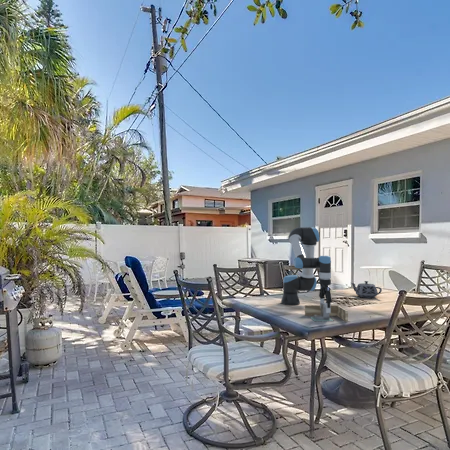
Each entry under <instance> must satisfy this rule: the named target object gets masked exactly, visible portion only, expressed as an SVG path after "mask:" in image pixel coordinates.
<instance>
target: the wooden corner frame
mask: <svg viewBox="0 0 450 450" xmlns="http://www.w3.org/2000/svg"><path fill="white" fill-rule="evenodd" d="M314 315H321V308H320V304H305V305H304V316H310V317H314ZM330 316H331V317H338V318H340V319H342V320H343V321H344V322H346V323H347V322H349V310H347V309H345V308H344V307H342V306H340V305H339V304H337V305H336V304H332V305H331V313H329V317H330Z"/></svg>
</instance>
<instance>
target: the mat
mask: <svg viewBox="0 0 450 450" xmlns="http://www.w3.org/2000/svg"><path fill="white" fill-rule="evenodd" d="M309 318H310V319H311V320H312V321H314V322H334V320H333V319H332V318H331V317H330V320H316V319H314V316H310V317H309Z"/></svg>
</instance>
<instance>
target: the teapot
mask: <svg viewBox="0 0 450 450" xmlns="http://www.w3.org/2000/svg"><path fill="white" fill-rule="evenodd" d="M350 284H351V285H352V288H353V289H352V290H353V291H354V292H355V294H356V295H357V297H359V298H362V297H363V298H364V299H375V298H376V297H377V296H379V295H380V294H382V291H383V290H382V287H379V286H376V284H374V283H369V281H368V280H364V282H363V283H358V284H357V287H356V285H355V283H354V282H350ZM378 290H379V291H378ZM374 297H375V298H374Z"/></svg>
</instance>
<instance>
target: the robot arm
mask: <svg viewBox="0 0 450 450" xmlns="http://www.w3.org/2000/svg"><path fill="white" fill-rule="evenodd" d="M288 241H289V243H290V244H291V247H292V250H293V254H294V257H295V258H294V261H293V265H294V268H296V269H301V273H300V274H299V276H298V275H297V274H288V275H285V276H284V277H283V288H282V289H283V294H282V298H281V301H280V302H281V304H282V305H286V306H298V305H300V303H301V301H300V298H299V295H298V293H299V292H312V291H314V290H316V288H317V283H318V284H319V285H320V286H319V287H320V288H319V294H318V297H319V305H320V308H321V303H326V313H331V303H333V301H332V300H333V299H332V294H331V287H330V286H331V285H332V267H331V266H332V260H331V259H332V258H331V256H330V255H320V256H319V257H315V246H316V245H317V244H318V242H319V241H320V233H319V230H318V228H317V227H312V226H311V227H310V226H309V227H307V226H306V227H305V226H304V227H301V226H299V227H295V228H294V229H292V230H291V231H290V233H289V234H288ZM314 269H318V270H319V271H318V277H319V280H318V282H317V277H316V275H315V274H314Z"/></svg>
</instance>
